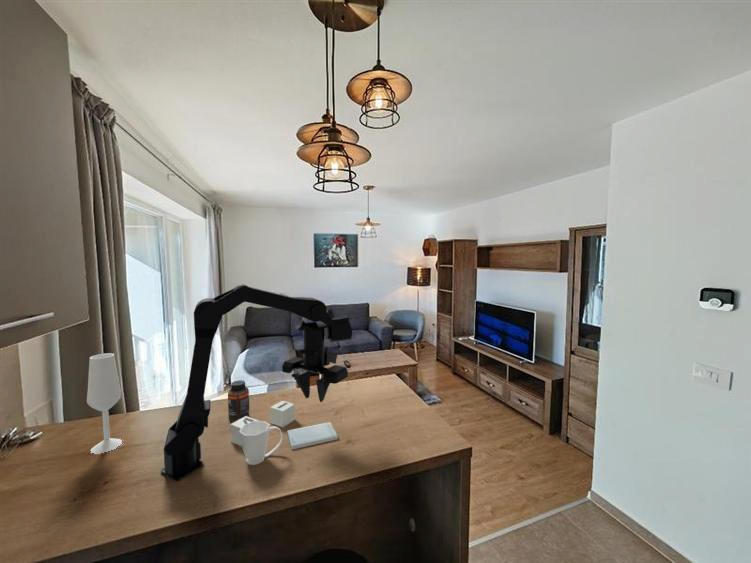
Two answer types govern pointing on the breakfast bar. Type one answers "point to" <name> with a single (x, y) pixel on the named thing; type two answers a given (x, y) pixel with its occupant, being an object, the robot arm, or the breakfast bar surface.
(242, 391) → the supplement bottle
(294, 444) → the hard drive
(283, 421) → the block one
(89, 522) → the breakfast bar surface
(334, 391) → the breakfast bar surface
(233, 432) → the block seven
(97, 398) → the champagne flute
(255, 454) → the cup
